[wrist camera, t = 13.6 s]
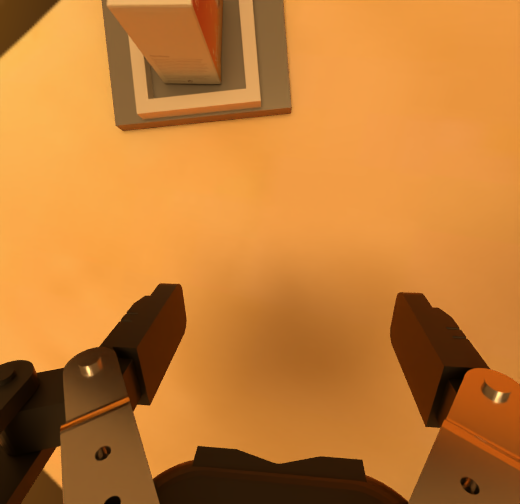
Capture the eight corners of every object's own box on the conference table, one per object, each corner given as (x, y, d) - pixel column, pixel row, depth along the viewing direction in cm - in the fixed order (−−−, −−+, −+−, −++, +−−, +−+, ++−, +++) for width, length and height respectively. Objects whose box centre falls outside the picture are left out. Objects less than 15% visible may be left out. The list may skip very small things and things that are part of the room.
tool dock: (279, -37, 30) (279, -66, 27) (290, 113, 31) (292, 100, 28) (107, -14, 31) (89, -40, 28) (123, 130, 32) (107, 120, 29)
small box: (221, 86, 30) (193, 8, 19) (163, 85, 30) (104, 7, 20) (224, -3, 29) (196, -133, 19) (165, -4, 29) (104, -133, 19)
